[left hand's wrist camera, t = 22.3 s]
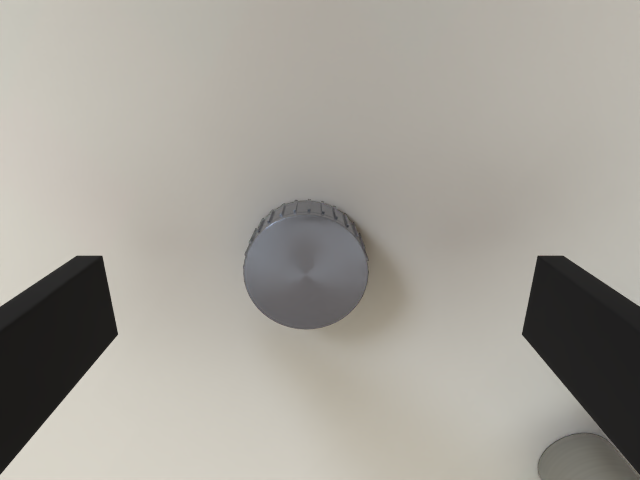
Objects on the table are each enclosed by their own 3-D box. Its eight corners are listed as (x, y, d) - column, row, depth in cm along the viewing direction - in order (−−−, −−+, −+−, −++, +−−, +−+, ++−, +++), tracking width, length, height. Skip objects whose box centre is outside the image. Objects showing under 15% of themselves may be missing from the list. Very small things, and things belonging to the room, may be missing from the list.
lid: (287, 321, 19) (283, 350, 17) (228, 233, 17) (216, 252, 15) (382, 273, 18) (391, 296, 16) (329, 177, 17) (331, 188, 14)
